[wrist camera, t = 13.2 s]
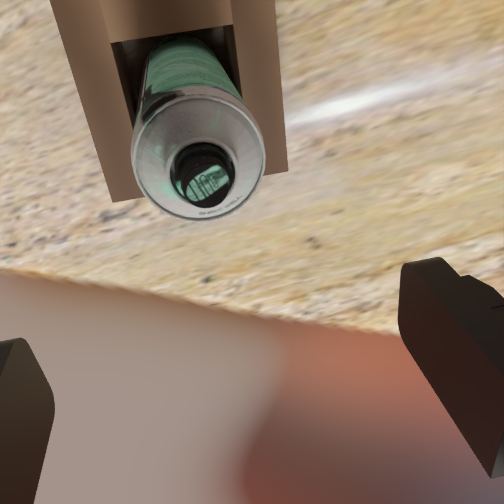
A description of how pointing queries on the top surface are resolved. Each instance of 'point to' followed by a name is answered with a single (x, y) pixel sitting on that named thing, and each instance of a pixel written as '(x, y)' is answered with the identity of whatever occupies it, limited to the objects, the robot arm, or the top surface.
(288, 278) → the top surface
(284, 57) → the top surface
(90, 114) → the walnut holder
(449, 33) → the top surface
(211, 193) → the spray can
